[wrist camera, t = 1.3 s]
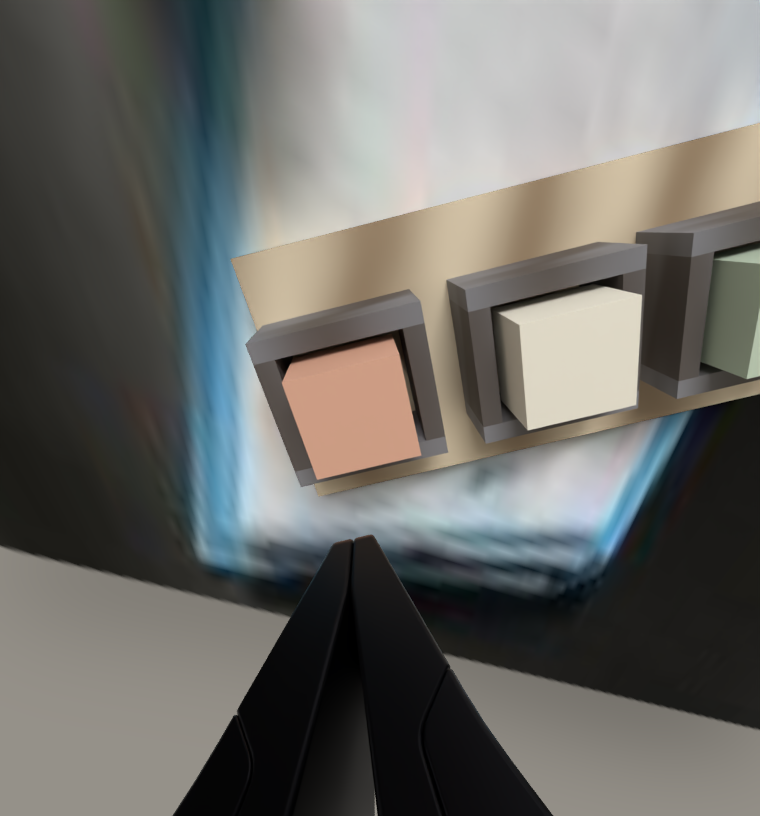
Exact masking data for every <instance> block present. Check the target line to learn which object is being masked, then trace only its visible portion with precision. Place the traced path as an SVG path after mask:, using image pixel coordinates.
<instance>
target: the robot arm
mask: <svg viewBox="0 0 760 816" xmlns="http://www.w3.org/2000/svg"><path fill="white" fill-rule="evenodd" d="M237 714H238V715H234V716H233V718H232V720H231V721H230V723H229V725H228V726H227V728H226V730H225V732H224V733H223V735H222V737H221V739H220V741H219V742H218V744H217V745H216V747H215V749H214V750H213V752H212V754H211V755H210V757H209V759H208V761H207V762H206V764H205V765H204V767H203V769H202V770H201V772H200V774H199V775H198V777H197V779H196V780H195V782H194V783H193V785H192V786H191V788H190V790H189V791H188V793H187V794H186V796H185V797H184V799H183V800H182V802H181V803H180V805H179V807H178V808H177V810H176V811H175V813H174V814H173V816H374V815H375V814H374V813H375V810H374V809H375V807H374V806H375V804H374V803H375V801H374V800H375V797H376V805H377V813H378V816H553V815H552V814H551V812H550V811H549V810H548V808H547V807H546V806H545V804H544V803H543V802H542V800H541V799H540V798H539V797H538V795H537V794H536V792H535V791H534V790H533V788H532V787H531V786H530V785H529V783H528V782H527V780H526V779H525V778H524V777H523V775H522V774H521V773H520V771H519V770H518V769H517V767H516V766H515V765H514V763H513V762H512V761H511V759H510V758H509V756H508V755H507V754H506V752H505V751H504V749H503V748H502V747H501V745H500V744H499V742H498V741H497V740H496V738H495V737H494V735H493V734H492V733H491V731H490V730H489V728H488V727H487V725H486V724H485V722H484V721H483V719H482V718H481V716H480V715H479V713H478V711H477V710H476V708H475V707H474V705H473V703H472V702H471V700H470V699H469V697H468V695H467V694H466V692H465V691H464V689H463V687H462V685H461V684H460V682H459V680H458V679H457V677H456V675H455V673H454V672H453V670H451V669H450V665H449V664H448V662H447V660H446V658H445V657H444V655H443V653H442V652H441V650H440V648H439V646H438V645H437V643H436V641H435V640H434V638H433V636H432V634H431V633H430V631H429V629H428V628H427V626H426V624H425V622H424V621H423V619H422V617H421V616H420V614H419V612H418V610H417V609H416V607H415V605H414V604H413V602H412V600H411V598H410V597H409V595H408V593H407V592H406V590H405V588H404V587H403V585H402V583H401V581H400V580H399V578H398V576H397V575H396V573H395V571H394V569H393V568H392V566H391V564H390V563H389V561H388V559H387V557H386V556H385V554H384V552H383V551H382V549H381V547H380V545H379V544H378V542H377V540H376V539H375V537H374V536H373V535H366V536H362V537H358V538H356V539H355V540H354V541H353V540H351V539H349V540H345V541H340V542H336V543H334V544H333V545H332V546H331V548H330V550H329V552H328V553H327V555H326V557H325V559H324V560H323V562H322V564H321V566H320V567H319V569H318V571H317V572H316V574H315V576H314V578H313V579H312V581H311V583H310V585H309V586H308V588H307V590H306V592H305V593H304V595H303V597H302V599H301V600H300V602H299V604H298V605H297V607H296V609H295V611H294V612H293V614H292V616H291V618H290V619H289V621H288V623H287V625H286V626H285V628H284V630H283V631H282V633H281V635H280V637H279V638H278V640H277V642H276V644H275V646H274V647H273V649H272V651H271V653H270V654H269V656H268V658H267V659H266V661H265V663H264V664H263V667H262V668H261V670H260V671H259V673H258V675H257V677H256V678H255V680H254V682H253V683H252V685H251V687H250V689H249V690H248V692H247V694H246V696H245V697H244V699H243V701H242V703H241V704H240V706H239V708H238V710H237ZM374 788H375V790H374ZM374 793H375V794H374ZM374 796H375V797H374Z"/></svg>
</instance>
